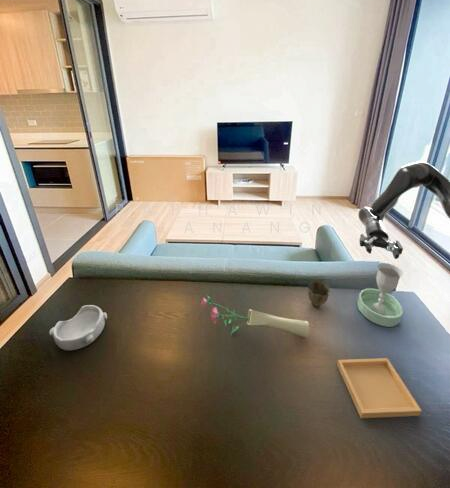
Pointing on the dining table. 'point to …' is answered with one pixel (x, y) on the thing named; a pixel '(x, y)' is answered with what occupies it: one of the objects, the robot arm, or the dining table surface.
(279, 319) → the flower vase
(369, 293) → the bowl
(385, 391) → the tray
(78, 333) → the dish
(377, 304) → the chalice
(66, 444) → the dining table surface
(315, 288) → the cup
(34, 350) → the dining table surface
